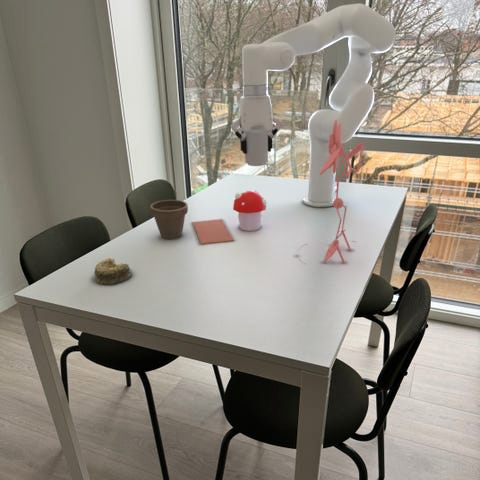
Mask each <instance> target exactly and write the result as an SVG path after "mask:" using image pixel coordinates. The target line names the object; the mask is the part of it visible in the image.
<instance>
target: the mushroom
mask: <svg viewBox="0 0 480 480" xmlns="http://www.w3.org/2000/svg"><path fill="white" fill-rule="evenodd" d="M234 198H235V199H234V200H233V206H232V210H233V211H235V212H237V213H238V215H237V217H238V223H239V228H240V229H241V230H243V231H251V232H252V231H257V230H259V229H260V228H261V225H262V220H263V214H262V212H264V211H266V210H267V204H268V201H267V199H265V198H264V197H263V196H262V195H261V194H260V193H259V191H258V190H245V191H244V192H236V193H235V195H234Z"/></svg>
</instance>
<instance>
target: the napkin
mask: <svg viewBox="0 0 480 480" xmlns="http://www.w3.org/2000/svg"><path fill="white" fill-rule="evenodd" d="M192 225H193V228H194V230H195V233H196V235H197V238H198V240H199V243H200V245H210V244H218V243H228V242H234V239H233V237H232V235H231V234H230V232H229V230H228V228H227V226H226V225H225V223H224V220H223V219H212V220H202V221H192Z"/></svg>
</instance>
